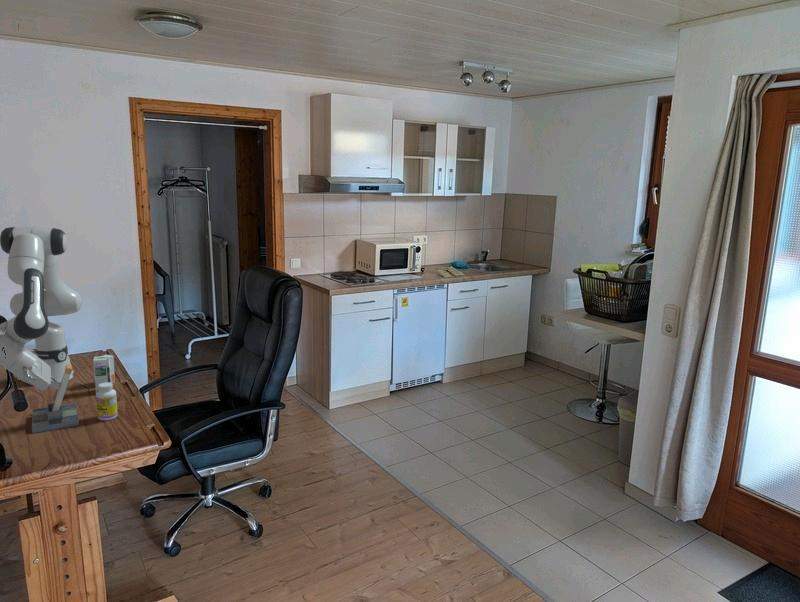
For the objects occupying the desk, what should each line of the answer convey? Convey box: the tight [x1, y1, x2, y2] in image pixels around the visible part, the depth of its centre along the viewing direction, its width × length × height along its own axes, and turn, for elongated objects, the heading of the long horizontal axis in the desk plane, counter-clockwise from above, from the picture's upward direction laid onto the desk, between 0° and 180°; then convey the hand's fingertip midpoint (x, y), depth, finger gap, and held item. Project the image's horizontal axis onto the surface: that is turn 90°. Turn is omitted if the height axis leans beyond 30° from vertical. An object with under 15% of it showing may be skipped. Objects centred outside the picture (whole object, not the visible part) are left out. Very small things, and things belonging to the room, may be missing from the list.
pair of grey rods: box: [32, 403, 77, 412], centre depth 216 cm, size 14×3×2 cm, turn 121°
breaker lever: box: [52, 364, 73, 412], centre depth 206 cm, size 2×7×18 cm, turn 31°
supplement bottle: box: [95, 382, 118, 421], centre depth 210 cm, size 7×7×13 cm
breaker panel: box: [31, 401, 80, 434], centre depth 206 cm, size 14×16×5 cm
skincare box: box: [102, 354, 116, 384], centre depth 243 cm, size 6×4×12 cm
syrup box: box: [92, 355, 111, 394], centre depth 235 cm, size 6×6×14 cm
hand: (59, 386), depth 205 cm, fingers closed, pressing on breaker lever
